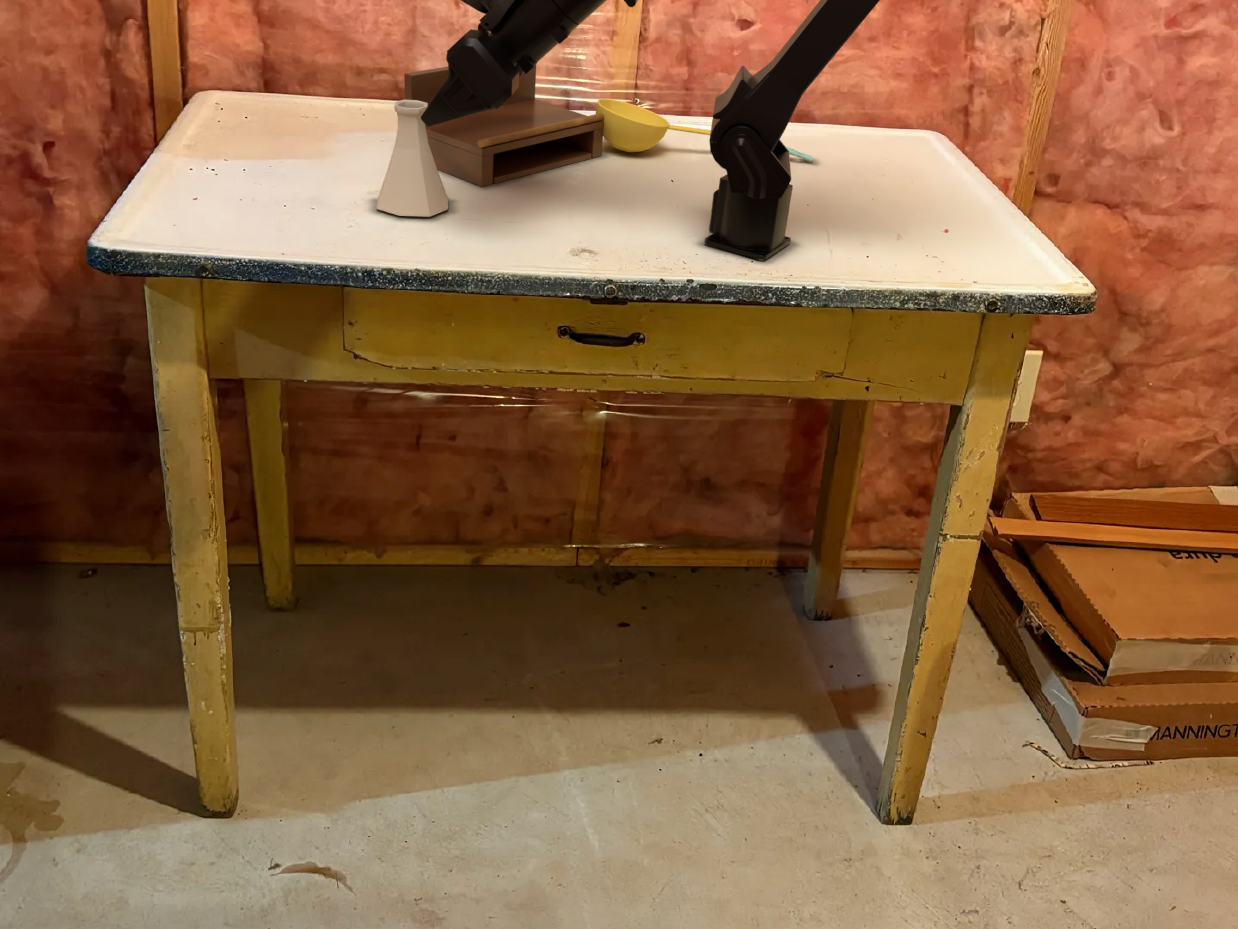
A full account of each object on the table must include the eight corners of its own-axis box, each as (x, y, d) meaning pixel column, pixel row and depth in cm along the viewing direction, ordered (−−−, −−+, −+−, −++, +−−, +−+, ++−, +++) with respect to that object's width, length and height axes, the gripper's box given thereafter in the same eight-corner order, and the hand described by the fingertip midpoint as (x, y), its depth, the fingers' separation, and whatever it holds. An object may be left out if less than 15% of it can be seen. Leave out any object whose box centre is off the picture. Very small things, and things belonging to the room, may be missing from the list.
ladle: (585, 129, 137) (598, 82, 135) (788, 190, 142) (806, 145, 140) (587, 148, 130) (602, 98, 127) (802, 212, 135) (821, 165, 132)
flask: (435, 223, 109) (434, 118, 104) (363, 212, 110) (359, 108, 105) (459, 200, 115) (460, 99, 110) (391, 190, 116) (388, 90, 111)
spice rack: (601, 155, 132) (607, 75, 127) (481, 186, 119) (483, 99, 115) (526, 130, 138) (529, 52, 134) (405, 157, 126) (403, 73, 121)
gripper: (517, -92, 106) (402, 20, 113) (474, -67, 91) (343, 61, 97) (594, 7, 110) (479, 110, 116) (566, 47, 94) (435, 163, 101)
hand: (436, 109), depth 108 cm, fingers open, 9 cm apart
